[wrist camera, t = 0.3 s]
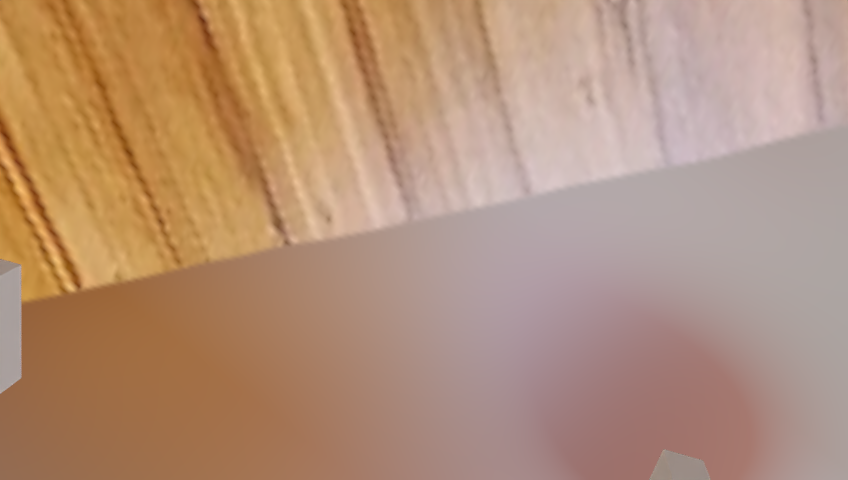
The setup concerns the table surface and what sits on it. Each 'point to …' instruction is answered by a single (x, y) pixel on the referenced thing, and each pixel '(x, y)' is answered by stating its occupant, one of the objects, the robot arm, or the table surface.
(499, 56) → the table surface
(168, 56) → the table surface
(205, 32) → the table surface
